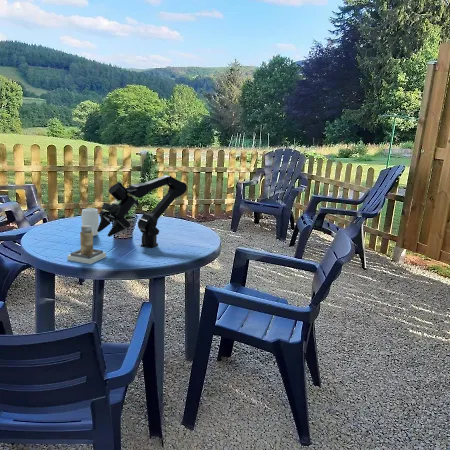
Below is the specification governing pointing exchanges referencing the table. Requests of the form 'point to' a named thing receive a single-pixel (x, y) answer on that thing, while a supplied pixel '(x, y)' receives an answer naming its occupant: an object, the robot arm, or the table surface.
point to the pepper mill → (86, 240)
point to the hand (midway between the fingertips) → (103, 233)
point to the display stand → (87, 259)
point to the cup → (91, 219)
